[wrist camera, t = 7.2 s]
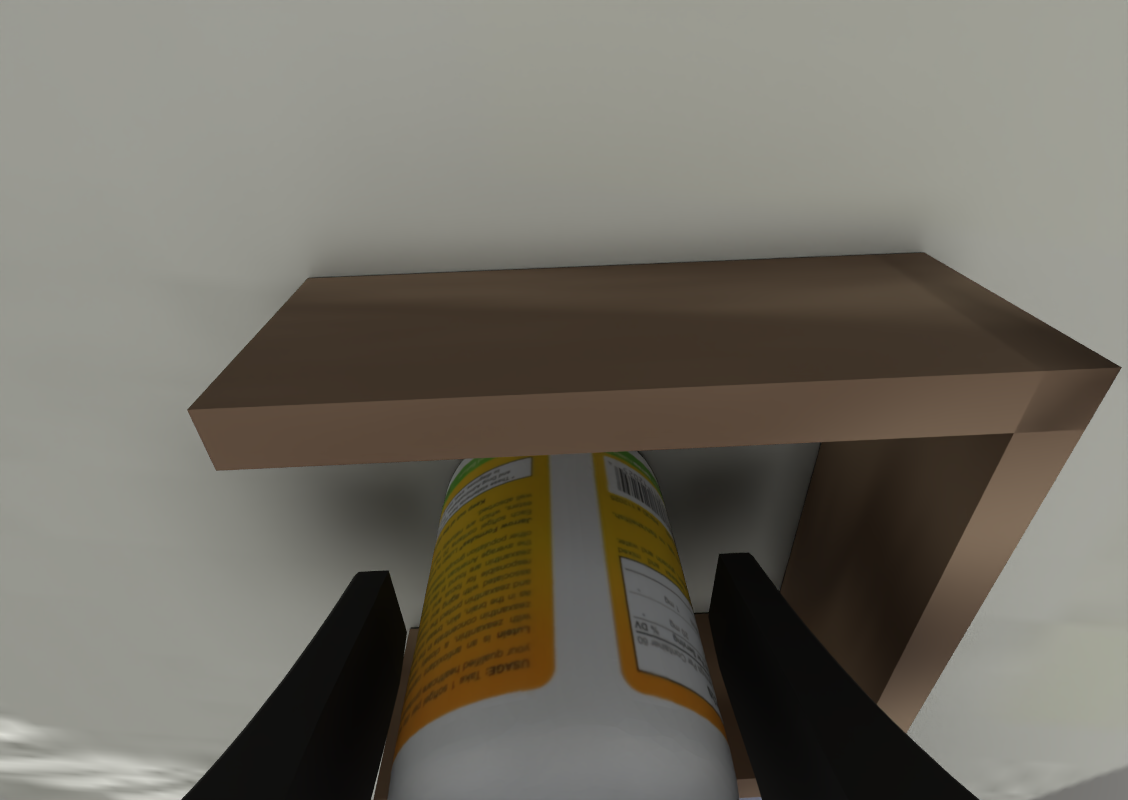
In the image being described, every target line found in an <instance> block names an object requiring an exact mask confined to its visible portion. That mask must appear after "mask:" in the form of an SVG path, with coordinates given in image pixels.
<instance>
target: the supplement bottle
mask: <svg viewBox="0 0 1128 800" xmlns="http://www.w3.org/2000/svg"><path fill="white" fill-rule="evenodd" d="M387 800H739V792H738V785H737V779H736V775H735V770H734V765H733V761H732V756H731V752H730V747H729V743H728V740H727V736H726V732H725V729H724V724H723V720H722V717H721V713H720V710H719V707H718V703H717V699H716V695H715V691H714V688H713V684H712V680H711V677H710V673H709V669H708V666H707V662H706V658H705V654H704V650H703V646H702V643H701V639H700V635H699V631H698V628H697V624H696V620H695V616H694V612H693V608H692V604H691V601H690V597H689V593H688V589H687V586H686V582H685V578H684V574H683V571H682V567H681V563H680V560H679V556H678V552H677V549H676V545H675V541H674V537H673V534H672V530H671V526H670V522H669V519H668V515H667V511H666V508H665V504H664V501H663V497H662V494H661V491H660V489H659V485H658V482H657V480H656V478H655V476H654V474H653V472H652V470H651V468H650V467H649V465H648V464H647V462H646V461H645V459H644V458H643V457H642V456H641V455H640V454H639V453H638V452H637V451H622V452H601V453H579V454H558V455H537V456H516V457H494V458H473V459H464V460H463V461H462V462H461V464H460V465H459V466H458V468H457V470H456V471H455V473H454V475H453V477H452V479H451V481H450V483H449V486H448V489H447V492H446V497H445V501H444V504H443V508H442V513H441V518H440V523H439V528H438V533H437V539H436V544H435V549H434V554H433V559H432V565H431V570H430V575H429V580H428V585H427V590H426V595H425V600H424V605H423V610H422V616H421V621H420V626H419V631H418V636H417V641H416V647H415V651H414V655H413V661H412V665H411V670H410V674H409V679H408V684H407V689H406V694H405V698H404V704H403V709H402V713H401V721H400V726H399V731H398V736H397V741H396V745H395V752H394V757H393V763H392V768H391V779H390V785H389V792H388V798H387Z"/></svg>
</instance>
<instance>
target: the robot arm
mask: <svg viewBox="0 0 1128 800" xmlns="http://www.w3.org/2000/svg"><path fill="white" fill-rule="evenodd" d="M708 618H709V623H710V628H711V633H712V638H713V642H714V647H715V652H716V656H717V661H718V665H719V669H720V672H721V675H722V678H723V681H724V684H725V687H726V690H727V693H728V697H729V700H730V703H731V706H732V709H733V712H734V715H735V718H736V721H737V724H738V727H739V730H740V733H741V736H742V739H743V742H744V745H745V748H746V751H747V754H748V757H749V760H750V763H751V766H752V769H753V772H754V775H755V778H756V781H757V785H758V788H759V791H760V795H761V797H751V798H739V800H979V799H978V798H977V797H976V796H974V795H973V794H972V793H971V792H970V791H969V790H967V789H966V788H965V787H964V786H963V785H961V784H960V783H959V782H958V781H957V780H956V779H954V778H953V777H952V776H951V775H950V774H949V773H948V772H947V771H945V770H944V769H943V768H942V767H941V766H940V765H939V764H938V763H937V762H936V761H935V760H934V759H932V758H931V757H930V756H929V755H928V754H927V753H926V752H925V751H924V750H923V749H922V748H921V747H919V746H918V745H917V744H916V743H915V742H914V741H913V740H912V739H911V738H910V737H909V736H908V735H907V734H906V733H905V732H904V731H903V730H902V729H901V728H900V727H899V726H898V725H897V724H896V723H895V722H894V721H893V720H892V719H891V718H890V717H889V716H888V715H887V714H886V713H885V712H884V711H883V710H882V709H881V708H880V707H879V706H878V705H877V704H876V703H875V702H874V701H873V700H872V699H871V698H870V697H869V696H868V695H867V694H866V693H865V692H864V691H863V689H862V688H861V687H860V686H859V685H858V684H857V683H856V682H855V681H854V680H853V679H852V678H851V676H850V675H849V674H848V673H847V672H846V671H845V670H844V669H843V668H842V667H841V665H840V664H839V663H838V662H837V661H836V660H835V659H834V658H833V656H832V655H831V654H830V653H829V652H828V651H827V649H826V648H825V647H824V646H823V645H822V643H821V642H820V641H819V640H818V639H817V638H816V636H815V635H814V634H813V633H812V632H811V630H810V629H809V628H808V627H807V626H806V625H805V623H804V622H803V621H802V620H801V618H800V617H799V616H798V615H797V613H796V612H795V611H794V610H793V608H792V607H791V606H790V605H789V603H788V602H787V601H786V600H785V598H784V597H783V596H782V594H781V593H780V592H779V590H778V589H777V588H776V587H775V585H774V584H773V583H772V581H771V580H770V579H769V577H768V576H767V575H766V573H765V572H764V571H763V569H762V568H761V566H760V565H759V564H758V562H757V561H756V560H755V558H754V557H753V556H752V555H751V554H750V553H749V552H748V553H728V554H719V558H718V564H717V569H716V575H715V581H714V586H713V592H712V598H711V603H710V609H709V615H708ZM406 635H407V631H406V627H405V624H404V621H403V617H402V614H401V611H400V607H399V604H398V600H397V597H396V594H395V590H394V587H393V584H392V580H391V577H390V574H389V570H388V571H368V572H358V573H357V574H356V575H355V576H354V578H353V579H352V581H351V582H350V584H349V585H348V587H347V588H346V590H345V591H344V593H343V594H342V596H341V598H340V599H339V601H338V602H337V604H336V605H335V607H334V608H333V610H332V611H331V613H330V614H329V616H328V617H327V619H326V620H325V621H324V623H323V624H322V626H321V627H320V629H319V630H318V632H317V633H316V635H315V636H314V638H313V639H312V640H311V642H310V643H309V644H308V646H307V647H306V649H305V650H304V651H303V653H302V654H301V656H300V657H299V658H298V660H297V661H296V662H295V664H294V665H293V667H292V668H291V669H290V671H289V672H288V674H287V675H286V676H285V678H284V679H283V680H282V682H281V683H280V684H279V685H278V687H277V688H276V689H275V691H274V692H273V693H272V694H271V696H270V697H269V698H268V699H267V701H266V702H265V703H264V704H263V706H262V707H261V708H260V710H259V711H258V712H257V713H256V715H255V716H254V717H253V718H252V720H251V721H250V722H249V723H248V725H247V726H246V727H245V728H244V730H243V731H242V732H241V733H240V734H239V736H238V737H237V738H236V739H235V740H234V742H233V743H232V744H231V745H230V746H229V747H228V749H227V750H226V751H225V752H224V753H223V754H222V756H221V757H220V758H219V759H218V760H217V761H216V762H215V763H214V765H213V766H212V767H211V768H210V769H209V770H208V771H207V772H206V774H205V775H204V776H203V777H202V778H201V779H200V780H199V781H198V782H197V784H196V785H195V786H194V787H193V788H192V789H191V790H190V791H189V792H188V793H187V794H186V795H185V796H184V797H183V798H182V799H181V800H371V797H372V793H373V789H374V785H375V781H376V777H377V773H378V770H379V766H380V762H381V758H382V754H383V750H384V746H385V742H386V738H387V734H388V730H389V726H390V722H391V718H392V714H393V710H394V706H395V702H396V698H397V693H398V689H399V685H400V679H401V672H402V666H403V659H404V651H405V643H406Z"/></svg>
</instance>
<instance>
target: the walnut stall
mask: <svg viewBox="0 0 1128 800" xmlns="http://www.w3.org/2000/svg"><path fill="white" fill-rule="evenodd" d="M1121 368H1122V367H1120V366H1118V365H1116V364H1115V363H1113V362H1111V361H1110V360H1108V359H1106V358H1104V357H1103V356H1101V355H1099V354H1098V353H1096V352H1094V351H1092V350H1091V349H1089V348H1087V347H1086V346H1084V345H1082V344H1080V343H1079V342H1077V341H1075V340H1073V339H1072V338H1070V337H1068V336H1067V335H1065V334H1063V333H1061V332H1060V331H1058V330H1056V329H1055V328H1053V327H1051V326H1049V325H1048V324H1046V323H1044V322H1043V321H1041V320H1039V319H1037V318H1036V317H1034V316H1032V315H1031V314H1029V313H1027V312H1025V311H1024V310H1022V309H1020V308H1019V307H1017V306H1015V305H1013V304H1012V303H1010V302H1008V301H1006V300H1005V299H1003V298H1001V297H1000V296H998V295H996V294H994V293H993V292H991V291H989V290H988V289H986V288H984V287H982V286H981V285H979V284H977V283H976V282H974V281H972V280H970V279H969V278H967V277H965V276H964V275H962V274H960V273H958V272H957V271H955V270H953V269H952V268H950V267H948V266H946V265H945V264H943V263H941V262H939V261H938V260H936V259H934V258H933V257H931V256H929V255H927V254H926V253H902V254H878V255H854V256H830V257H807V258H783V259H759V260H735V261H711V262H687V263H663V264H639V265H615V266H591V267H567V268H543V269H519V270H495V271H471V272H447V273H423V274H400V275H376V276H352V277H328V278H308V279H307V280H306V281H305V282H304V283H303V284H302V285H301V286H300V287H299V289H298V290H297V291H296V292H295V293H294V294H293V295H292V296H291V297H290V298H289V299H288V301H287V302H286V303H285V304H284V305H283V306H282V307H281V308H280V309H279V310H278V311H277V313H276V314H275V315H274V316H273V317H272V318H271V319H270V320H269V321H268V322H267V323H266V325H265V326H264V327H263V328H262V329H261V330H260V331H259V332H258V333H257V334H256V335H255V337H254V338H253V339H252V340H251V341H250V342H249V343H248V344H247V345H246V346H245V347H244V348H243V350H242V351H241V352H240V353H239V354H238V355H237V356H236V357H235V358H234V359H233V360H232V362H231V363H230V364H229V365H228V366H227V367H226V368H225V369H224V370H223V371H222V372H221V374H220V375H219V376H218V377H217V378H216V379H215V380H214V381H213V382H212V383H211V384H210V386H209V387H208V388H207V389H206V390H205V391H204V392H203V393H202V394H201V395H200V396H199V398H198V399H197V400H196V401H195V402H194V403H193V404H192V405H191V406H190V407H189V408H188V410H187V411H188V413H189V415H190V417H191V419H192V421H193V423H194V425H195V427H196V429H197V431H198V434H199V436H200V438H201V440H202V442H203V444H204V446H205V448H206V450H207V452H208V455H209V457H210V459H211V461H212V463H213V465H214V467H215V469H216V471H218V470H239V469H261V468H282V467H303V466H324V465H346V464H367V463H388V462H409V461H431V460H452V459H473V458H494V457H516V456H537V455H558V454H579V453H601V452H622V451H643V450H664V449H686V448H707V447H728V446H749V445H771V444H792V443H813V442H822V443H821V446H820V450H819V454H818V457H817V461H816V464H815V468H814V472H813V475H812V479H811V482H810V486H809V490H808V493H807V497H806V500H805V504H804V508H803V511H802V515H801V519H800V522H799V526H798V529H797V533H796V537H795V540H794V544H793V547H792V551H791V555H790V558H789V562H788V565H787V569H786V573H785V576H784V580H783V583H782V587H781V591H780V593H781V594H782V596H783V597H784V598H785V600H786V601H787V602H788V603H789V605H790V606H791V607H792V608H793V610H794V611H795V612H796V613H797V615H798V616H799V617H800V618H801V620H802V621H803V622H804V623H805V625H806V626H807V627H808V628H809V629H810V630H811V632H812V633H813V634H814V635H815V636H816V638H817V639H818V640H819V641H820V642H821V643H822V645H823V646H824V647H825V648H826V649H827V651H828V652H829V653H830V654H831V655H832V656H833V658H834V659H835V660H836V661H837V662H838V663H839V664H840V665H841V667H842V668H843V669H844V670H845V671H846V672H847V673H848V674H849V675H850V676H851V678H852V679H853V680H854V681H855V682H856V683H857V684H858V685H859V686H860V687H861V688H862V689H863V691H864V692H865V693H866V694H867V695H868V696H869V697H870V698H871V699H872V700H873V701H874V702H875V703H876V704H877V705H878V706H879V707H880V708H881V709H882V710H883V711H884V712H885V713H886V714H887V715H888V716H889V717H890V718H891V719H892V720H893V721H894V722H895V723H896V724H897V725H898V726H899V727H900V728H901V729H902V730H903V731H904V732H905V733H907V731H908V729H909V728H910V726H911V724H912V722H913V721H914V719H915V717H916V716H917V714H918V712H919V711H920V709H921V707H922V705H923V704H924V702H925V700H926V699H927V697H928V695H929V694H930V692H931V690H932V688H933V687H934V685H935V683H936V682H937V680H938V678H939V677H940V675H941V673H942V672H943V670H944V668H945V666H946V665H947V663H948V661H949V660H950V658H951V656H952V655H953V653H954V651H955V649H956V648H957V646H958V644H959V643H960V641H961V639H962V638H963V636H964V634H965V632H966V631H967V629H968V627H969V626H970V624H971V622H972V621H973V619H974V617H975V615H976V614H977V612H978V610H979V609H980V607H981V605H982V604H983V602H984V600H985V599H986V597H987V595H988V593H989V592H990V590H991V588H992V587H993V585H994V583H995V582H996V580H997V578H998V576H999V575H1000V573H1001V571H1002V570H1003V568H1004V566H1005V565H1006V563H1007V561H1008V559H1009V558H1010V556H1011V554H1012V553H1013V551H1014V549H1015V548H1016V546H1017V544H1018V543H1019V541H1020V539H1021V537H1022V536H1023V534H1024V532H1025V531H1026V529H1027V527H1028V526H1029V524H1030V522H1031V520H1032V519H1033V517H1034V515H1035V514H1036V512H1037V510H1038V509H1039V507H1040V505H1041V503H1042V502H1043V500H1044V498H1045V497H1046V495H1047V493H1048V492H1049V490H1050V488H1051V486H1052V485H1053V483H1054V481H1055V480H1056V478H1057V476H1058V475H1059V473H1060V471H1061V470H1062V468H1063V466H1064V464H1065V463H1066V461H1067V459H1068V458H1069V456H1070V454H1071V453H1072V451H1073V449H1074V447H1075V446H1076V444H1077V442H1078V441H1079V439H1080V437H1081V436H1082V434H1083V432H1084V430H1085V429H1086V427H1087V425H1088V424H1089V422H1090V420H1091V419H1092V417H1093V415H1094V414H1095V412H1096V410H1097V408H1098V407H1099V405H1100V403H1101V402H1102V400H1103V398H1104V397H1105V395H1106V393H1107V391H1108V390H1109V388H1110V386H1111V385H1112V383H1113V381H1114V380H1115V378H1116V376H1117V374H1118V373H1119V371H1120V369H1121ZM708 615H709V613H708V614H694V616H695V620H696V624H697V628H698V631H699V635H700V639H701V643H702V646H703V650H704V654H705V658H706V662H707V666H708V669H709V673H710V677H711V680H712V684H713V688H714V691H715V695H716V699H717V703H718V707H719V710H720V713H721V717H722V720H723V724H724V729H725V732H726V736H727V740H728V743H729V747H730V752H731V756H732V761H733V765H734V770H735V775H736V779H737V785H738V792H739V798H751V797H761V795H760V791H759V788H758V785H757V781H756V778H755V775H754V772H753V769H752V766H751V763H750V760H749V757H748V754H747V751H746V748H745V745H744V742H743V739H742V736H741V733H740V730H739V727H738V724H737V721H736V718H735V715H734V712H733V709H732V706H731V703H730V700H729V697H728V693H727V690H726V687H725V684H724V681H723V678H722V675H721V672H720V669H719V665H718V661H717V656H716V652H715V647H714V642H713V638H712V633H711V628H710V623H709V618H708ZM418 631H419V628H418V629H410V631H409V635H408V640H407V645H406V649H405V654H404V659H403V666H402V672H401V679H400V685H399V689H398V693H397V698H396V702H395V706H394V710H393V714H392V718H391V722H390V726H389V730H388V734H387V738H386V743H385V748H384V753H383V757H382V762H381V767H380V771H379V776H378V781H377V785H376V790H375V795H374V800H387V798H388V792H389V785H390V779H391V768H392V763H393V757H394V752H395V745H396V741H397V736H398V731H399V726H400V721H401V713H402V709H403V704H404V698H405V694H406V689H407V684H408V679H409V674H410V670H411V665H412V661H413V655H414V651H415V647H416V641H417V636H418Z"/></svg>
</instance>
